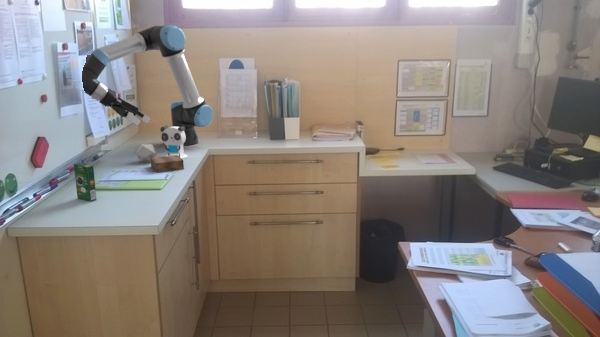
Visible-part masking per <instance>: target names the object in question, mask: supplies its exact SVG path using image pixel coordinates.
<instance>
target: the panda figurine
mask: <svg viewBox="0 0 600 337" xmlns="http://www.w3.org/2000/svg"><path fill="white" fill-rule="evenodd" d="M184 130H185V127H184V126H182V127H176V126H174V127H172V126H170V127H169V126H168V125H165V126H161V127H160V132H161V141H162V142H163V144H164V145H165V147H164V148H165V149H166V151H167V155H166V156H172V155H178V156H179V157H180V158H181V159H182V160H184V159H187V158H189V155H188V154H186V153H185V152H184V146H183V144H184V142H185V140H186V135H185V132H184Z"/></svg>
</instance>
